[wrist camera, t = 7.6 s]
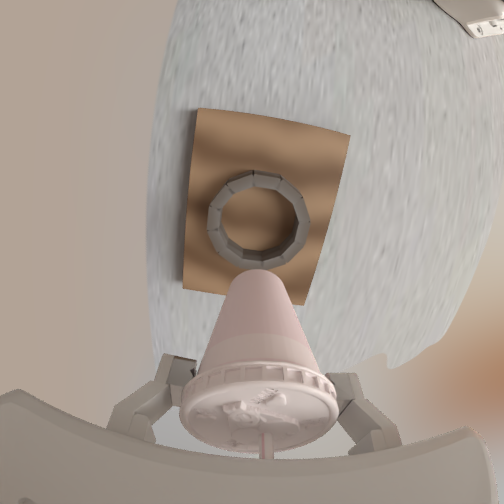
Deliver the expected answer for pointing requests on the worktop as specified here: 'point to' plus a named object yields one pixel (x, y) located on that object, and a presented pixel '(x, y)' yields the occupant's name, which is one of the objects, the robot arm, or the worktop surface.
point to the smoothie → (258, 376)
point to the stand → (259, 199)
